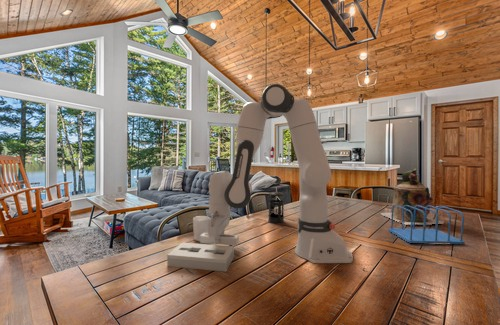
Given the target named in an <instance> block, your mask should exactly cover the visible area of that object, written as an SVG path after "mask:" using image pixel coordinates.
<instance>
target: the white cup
mask: <svg viewBox="0 0 500 325" xmlns="http://www.w3.org/2000/svg"><path fill="white" fill-rule="evenodd" d="M210 218H211V217H209V216H207V215H197V216H193V218H192V226H193V227H192V228H193V239H194V240H195V241H197V242H200V235H201V234H203V233H208V223H209V219H210Z"/></svg>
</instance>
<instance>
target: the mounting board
mask: <svg viewBox="0 0 500 325" xmlns="http://www.w3.org/2000/svg"><path fill="white" fill-rule="evenodd" d="M234 257H235V245H232V246H229V245H222V244H211V245H208V244H207V243H193V242H180V243H179V244H178V245H177V246H175V248H174V249H172V250H171V251H170V252H169V253H168V254H167V256H166V258H167V260H166V262H167V265H166V266H167V267H173V268H184V269H194V270H202V271H203V270H204V271H214V272H215V271H216V272H227V271H228V269H229V268H230V265H231V263H232V261H233V260H234Z"/></svg>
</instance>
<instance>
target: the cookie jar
mask: <svg viewBox="0 0 500 325" xmlns="http://www.w3.org/2000/svg"><path fill="white" fill-rule="evenodd" d="M401 179H402V183H400V184H394V185H393V186H392V188H393V190H394V193H393V198H392V204H391V205H392V206H393V205H398V206H401V207H404V205H409V206H412V207H414V208H415V206H416V205H420V206H423V207H426V206H428V205H430V206H431V205H432V203H433V201H434V198H433V197H432V196H431V193H430V188H429V187H427V186H425V185H424V184H423V183H421V182H420V181H419V180H418V175H417V168H415V167H414V169H412V170H405V171H404V172H403V173H402V175H401ZM405 208H406V209H408V210H410V211H411V212H412V214H413V221H414V209H413V208H411V207H408V206H405ZM416 208H417V209H420V210H422V211H423V212H424V213H425V208H422V207H419V206H417V207H416ZM427 208H428V209H431V207H429V206H428V207H427ZM430 213H431V211H430V210H427V212H426V226H433V225H432V224H436V219H433V218H431V217H428V215H429V214H430ZM380 215H381V216H383V217H384V216H385V217H384V218H387V219H389V218H390V219H389V220H391V219H392V212H380ZM402 218H403V209H402V208H400V207H397V206H394V210H393V220H395V221H394V222H396V221H397V222H396V223H398V222H399V221H400V220H401V221H402ZM404 221H406V222H405V223H404V224H405V225H407V226H411V213H410V212H409V211H407V210H405V209H404ZM444 223H445V221H443V220H440V219H438V224H442V225H444ZM423 224H424V215H423V213H422V212H421V211H419V210H416V213H415V226H417V225H419V226H423ZM405 225H404V226H405Z"/></svg>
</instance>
